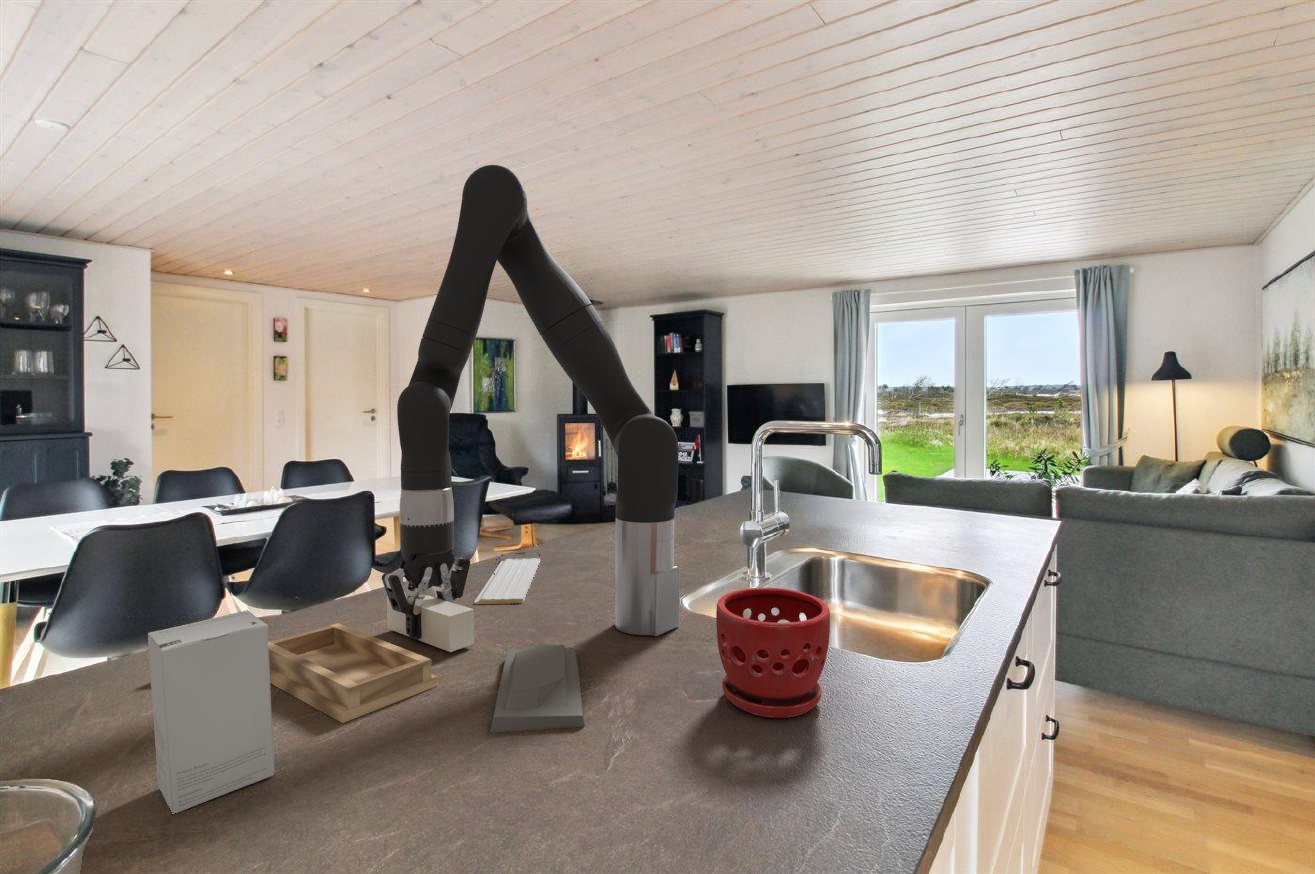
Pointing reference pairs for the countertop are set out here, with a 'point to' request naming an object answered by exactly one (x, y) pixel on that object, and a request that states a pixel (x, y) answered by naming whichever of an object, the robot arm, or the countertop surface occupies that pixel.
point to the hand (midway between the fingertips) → (429, 632)
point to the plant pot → (772, 650)
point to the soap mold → (539, 690)
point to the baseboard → (509, 582)
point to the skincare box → (211, 707)
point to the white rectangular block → (438, 623)
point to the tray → (346, 671)
